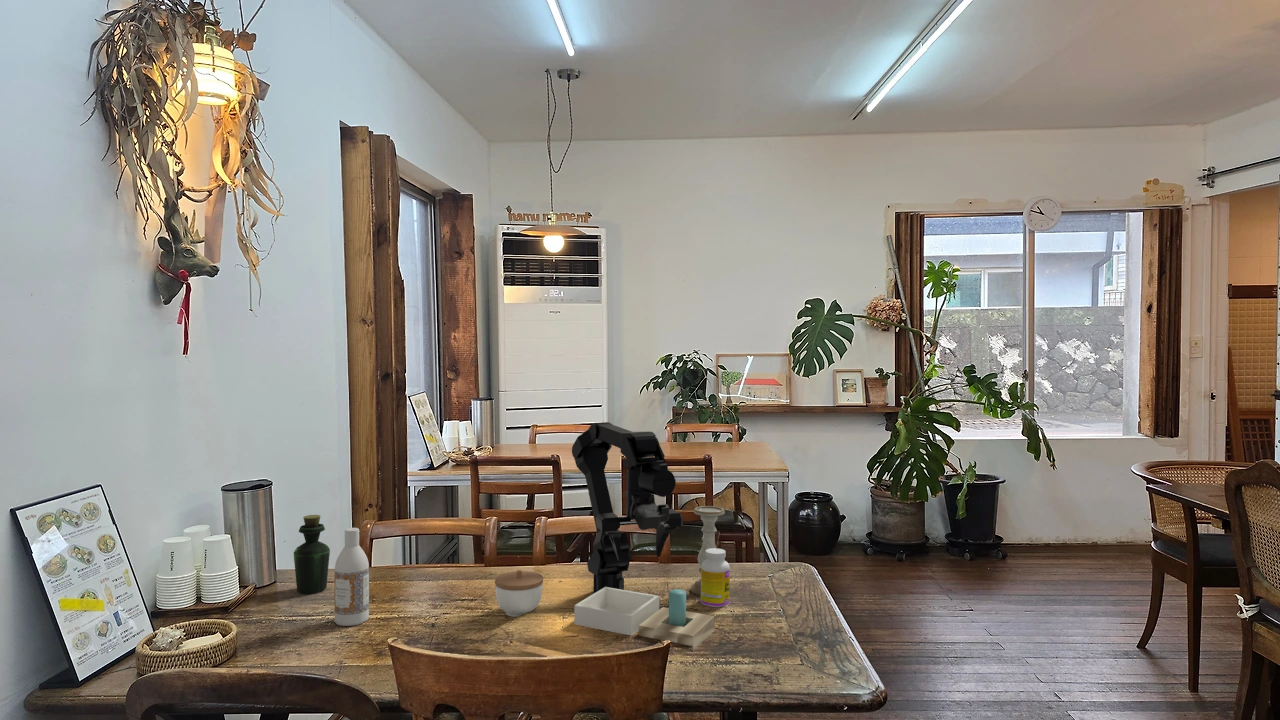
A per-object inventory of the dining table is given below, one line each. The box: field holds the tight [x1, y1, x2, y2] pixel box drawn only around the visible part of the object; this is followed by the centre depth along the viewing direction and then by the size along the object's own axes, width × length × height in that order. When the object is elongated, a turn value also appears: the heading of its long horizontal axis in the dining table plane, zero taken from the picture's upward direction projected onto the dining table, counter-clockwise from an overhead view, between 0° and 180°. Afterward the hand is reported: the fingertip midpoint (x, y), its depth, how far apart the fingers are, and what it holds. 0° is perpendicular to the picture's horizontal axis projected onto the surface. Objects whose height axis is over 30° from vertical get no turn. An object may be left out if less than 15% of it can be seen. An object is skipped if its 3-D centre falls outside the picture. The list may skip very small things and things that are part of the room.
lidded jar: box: [494, 569, 544, 618], centre depth 166 cm, size 11×11×9 cm
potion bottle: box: [293, 514, 331, 595], centre depth 180 cm, size 8×8×18 cm
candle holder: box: [690, 505, 726, 597], centre depth 181 cm, size 9×9×20 cm
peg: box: [668, 588, 687, 627], centre depth 153 cm, size 4×4×9 cm
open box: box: [573, 587, 660, 637], centre depth 160 cm, size 14×14×5 cm
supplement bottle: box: [700, 547, 731, 608], centre depth 171 cm, size 7×7×13 cm
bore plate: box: [638, 607, 715, 652], centre depth 153 cm, size 12×12×3 cm
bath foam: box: [333, 527, 370, 627], centre depth 160 cm, size 7×7×20 cm
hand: (638, 558), depth 164 cm, fingers open, 9 cm apart
